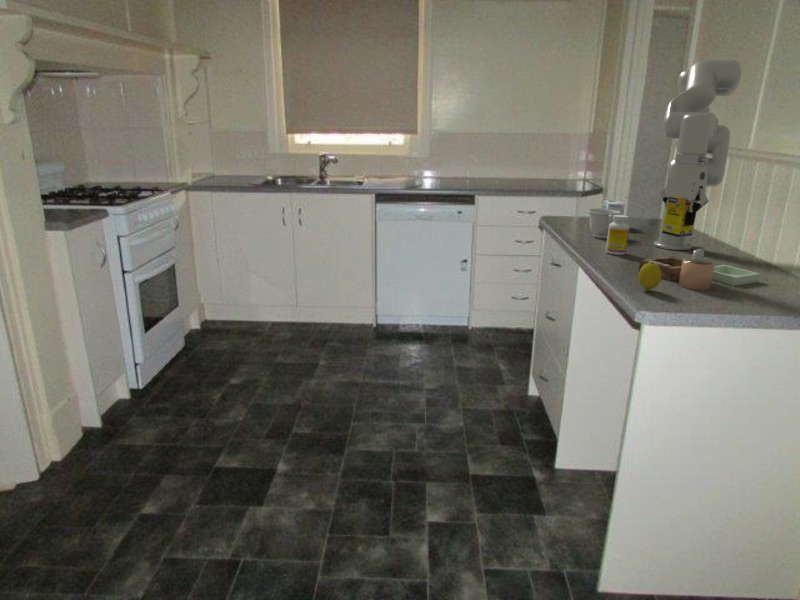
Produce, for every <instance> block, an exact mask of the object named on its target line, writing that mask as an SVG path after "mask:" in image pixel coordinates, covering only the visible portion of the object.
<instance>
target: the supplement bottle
mask: <svg viewBox="0 0 800 600" xmlns="http://www.w3.org/2000/svg"><path fill="white" fill-rule="evenodd" d="M628 220H629V216H628V215H626V214H625V215H624V214H623V215H614V216H613V222H612V223H610V225H609V229H608V237H607V238H606V246H605V252H606V253H607V254H608V253H609V255H612V254H614V255H613V256H624V255H626V254H627V251H628V250H627V249H628V243H629V242H628V241H629V236H630V228H631V227H630V225H629V224H628V223H627V222H628Z"/></svg>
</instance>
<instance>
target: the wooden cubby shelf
mask: <svg viewBox="0 0 800 600" xmlns="http://www.w3.org/2000/svg"><path fill="white" fill-rule="evenodd" d="M683 259H684V258H681V257H677V256H673V255H671V256H662V257H655V258H647V259H641V260H640V261H639V266H638V273H639V272H640V269H641V268H642V266H643V265H645V264H647V263H650V262H654V263H655V264H657V265H658V266H659V267H660V270H661V279H662V278H663V279H662V280H665V279H666V281H669V282H670V281H676V280H678V281H679V277H680V272H681V266H682V261H683Z"/></svg>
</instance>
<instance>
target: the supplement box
mask: <svg viewBox="0 0 800 600" xmlns="http://www.w3.org/2000/svg"><path fill="white" fill-rule="evenodd" d="M697 200H698V199H697ZM699 202H700V201H698V203H699ZM688 203H689V202H688V201H687V200H686V199H682V198H676V197H668V203H667V208H666V214H665V219H664V225H663V231H662V233H664V234H668V235H672V236H676V237H682V236H692V235H693V231H694V225H695V221H696V220H695V221H694V224H693V225H690V226H685V225H684V223H685V217H686V212H689V210H688ZM693 204H694V203H693ZM696 216H697V215H696ZM696 216H695V218H696Z"/></svg>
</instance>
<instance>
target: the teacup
mask: <svg viewBox="0 0 800 600" xmlns="http://www.w3.org/2000/svg"><path fill="white" fill-rule="evenodd" d="M587 211H588V214H589V230H590V231H591V232H592V233H593V235H592V236H593V237H594V238H598V239H607V237H608V229H609V225H610V223H612V222H613V216H614V215H619V214H621V212H620V211H616V210H610V209H603V208H590V209H588V210H587Z"/></svg>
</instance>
